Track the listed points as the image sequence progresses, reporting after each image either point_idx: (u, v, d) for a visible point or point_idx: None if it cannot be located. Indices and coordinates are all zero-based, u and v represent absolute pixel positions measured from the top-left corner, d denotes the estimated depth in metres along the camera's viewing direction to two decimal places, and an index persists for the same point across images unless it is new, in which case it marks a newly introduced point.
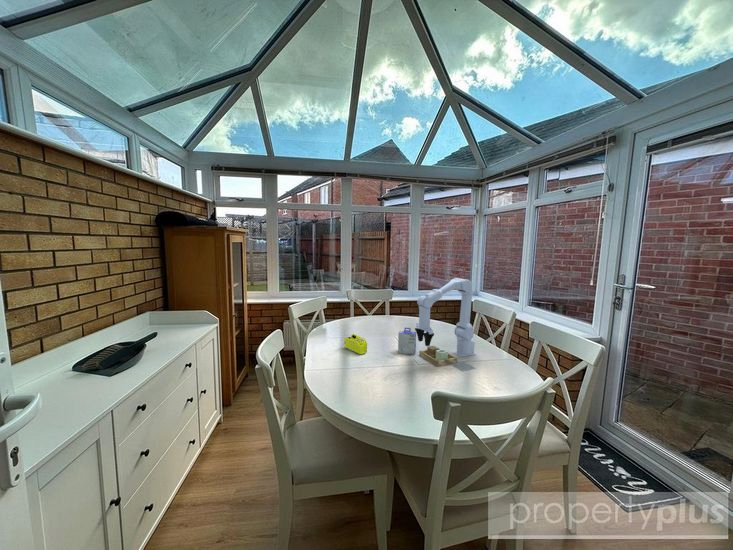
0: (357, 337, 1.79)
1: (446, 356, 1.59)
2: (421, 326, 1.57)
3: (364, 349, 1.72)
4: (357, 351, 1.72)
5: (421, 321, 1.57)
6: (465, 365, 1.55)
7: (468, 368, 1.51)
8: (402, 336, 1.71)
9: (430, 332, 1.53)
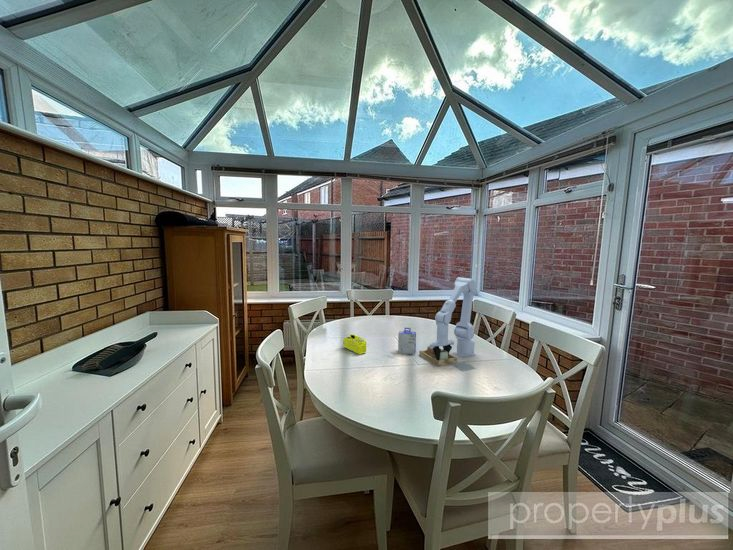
0: (356, 337, 1.79)
1: (446, 356, 1.59)
2: None
3: (363, 349, 1.72)
4: (356, 351, 1.72)
5: None
6: (465, 365, 1.55)
7: (468, 368, 1.51)
8: (402, 336, 1.71)
9: (430, 345, 1.57)
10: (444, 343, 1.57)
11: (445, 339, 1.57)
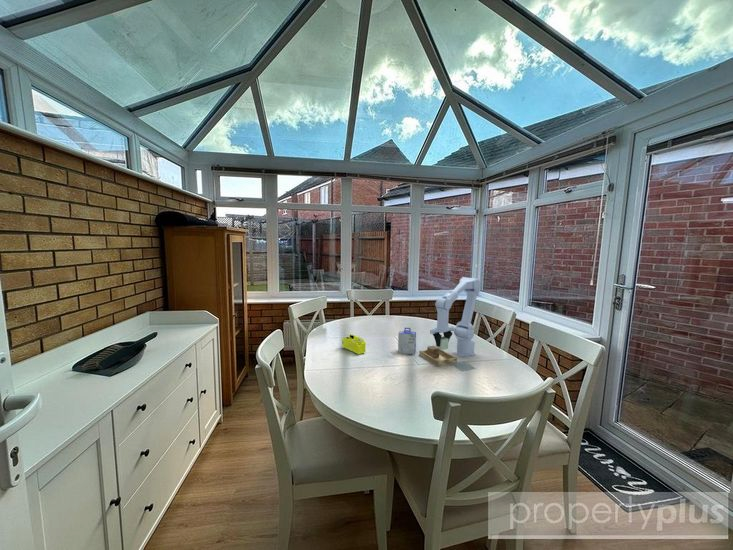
0: (355, 337, 1.79)
1: (447, 343, 1.58)
2: None
3: (362, 349, 1.72)
4: (355, 351, 1.71)
5: None
6: (465, 365, 1.55)
7: (468, 368, 1.51)
8: (402, 336, 1.71)
9: (430, 331, 1.56)
10: (444, 329, 1.56)
11: (445, 325, 1.56)
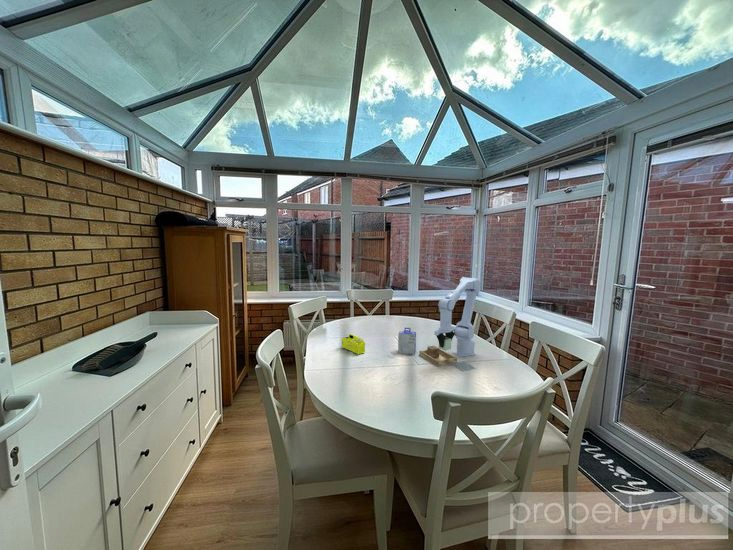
0: (354, 337, 1.79)
1: (450, 343, 1.57)
2: None
3: (362, 349, 1.72)
4: (355, 351, 1.71)
5: None
6: (465, 365, 1.55)
7: (468, 368, 1.51)
8: (402, 336, 1.71)
9: (435, 333, 1.54)
10: (448, 330, 1.55)
11: (449, 325, 1.55)
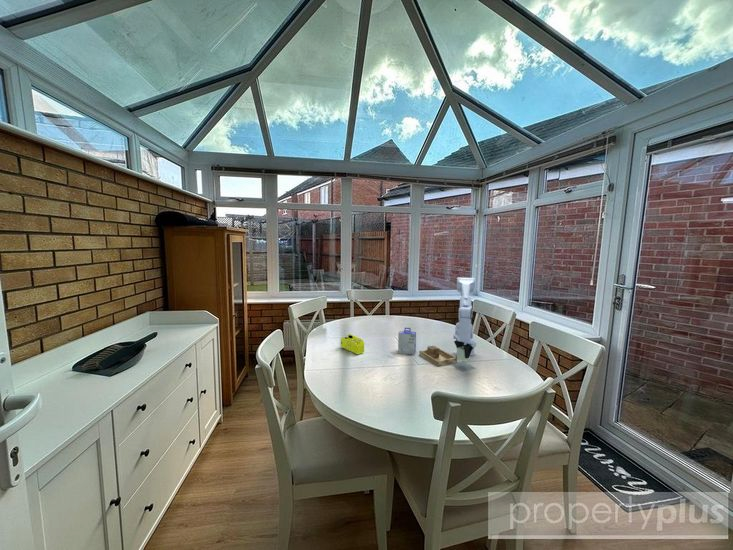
0: (354, 337, 1.79)
1: None
2: (462, 338, 1.50)
3: (361, 349, 1.72)
4: (354, 351, 1.71)
5: (462, 333, 1.50)
6: (465, 365, 1.55)
7: (468, 368, 1.51)
8: (402, 336, 1.71)
9: (473, 345, 1.45)
10: None
11: None
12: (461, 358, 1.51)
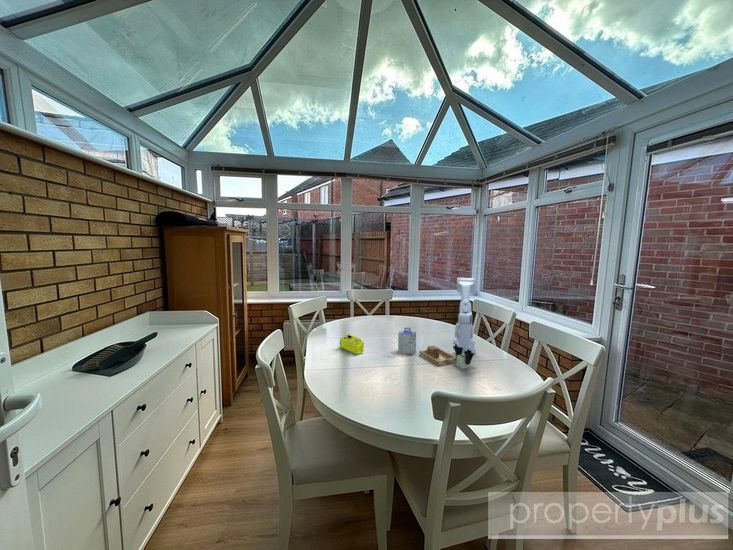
0: (353, 337, 1.79)
1: None
2: (462, 344, 1.50)
3: (361, 349, 1.72)
4: (354, 351, 1.71)
5: (462, 339, 1.50)
6: None
7: (468, 368, 1.51)
8: (402, 336, 1.71)
9: (473, 351, 1.46)
10: None
11: None
12: (461, 366, 1.52)
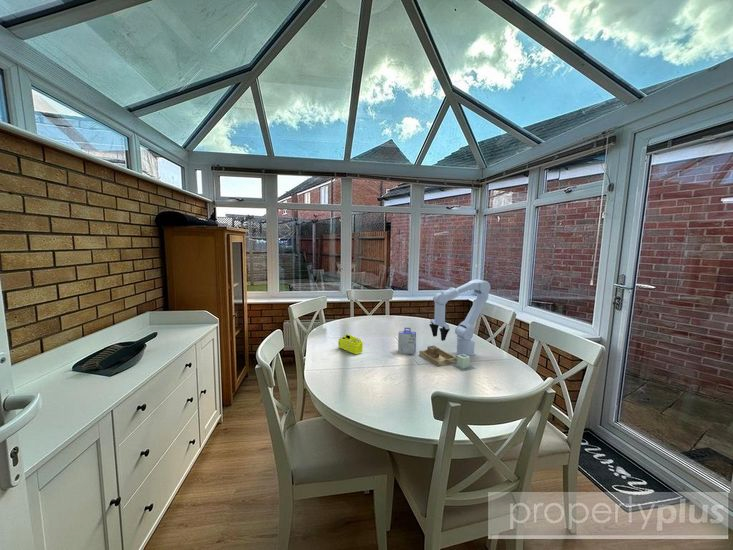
0: (351, 337, 1.79)
1: None
2: (437, 322, 1.65)
3: (360, 349, 1.72)
4: (353, 351, 1.71)
5: (437, 317, 1.65)
6: None
7: (468, 368, 1.51)
8: (402, 336, 1.71)
9: (447, 327, 1.61)
10: None
11: None
12: (461, 366, 1.52)
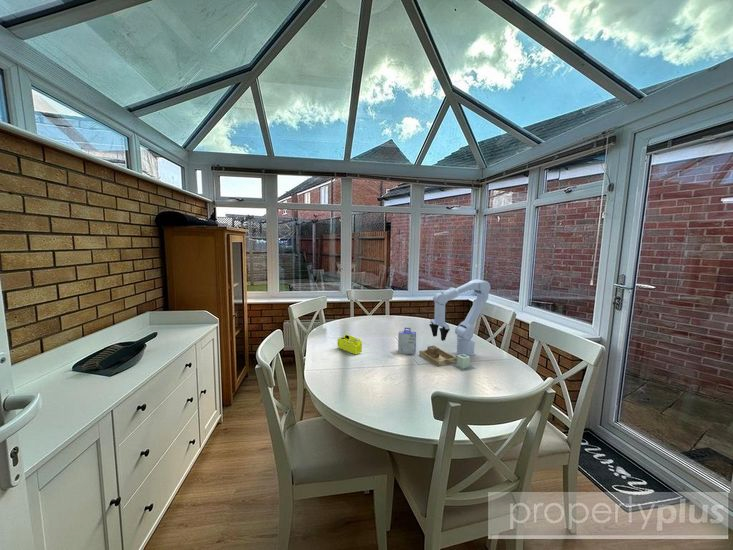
0: (351, 337, 1.78)
1: None
2: (437, 322, 1.65)
3: (359, 349, 1.72)
4: (352, 351, 1.71)
5: (437, 317, 1.65)
6: None
7: (468, 368, 1.51)
8: (402, 336, 1.71)
9: (447, 327, 1.61)
10: None
11: None
12: (461, 366, 1.52)
